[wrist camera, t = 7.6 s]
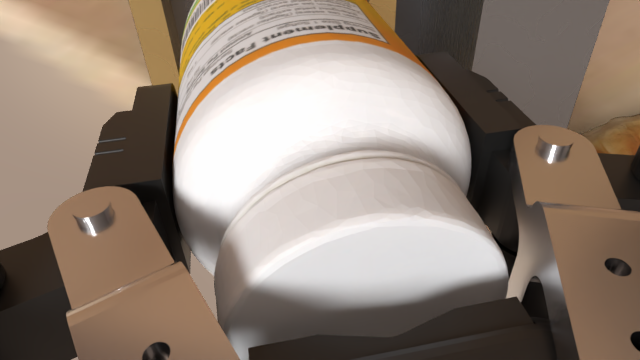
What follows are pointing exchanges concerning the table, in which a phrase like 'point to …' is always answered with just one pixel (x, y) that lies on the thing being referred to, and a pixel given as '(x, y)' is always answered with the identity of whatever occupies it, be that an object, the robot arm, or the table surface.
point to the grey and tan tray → (447, 43)
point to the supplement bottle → (323, 175)
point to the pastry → (616, 136)
